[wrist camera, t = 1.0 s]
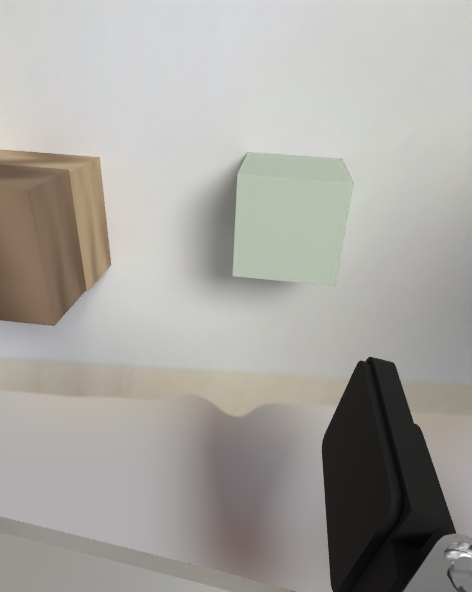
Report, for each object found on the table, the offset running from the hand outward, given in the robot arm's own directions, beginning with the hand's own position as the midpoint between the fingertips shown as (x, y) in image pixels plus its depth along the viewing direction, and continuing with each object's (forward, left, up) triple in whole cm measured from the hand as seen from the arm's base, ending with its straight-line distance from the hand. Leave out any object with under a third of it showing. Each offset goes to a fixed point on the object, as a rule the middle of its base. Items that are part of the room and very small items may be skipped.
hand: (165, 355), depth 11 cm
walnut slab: (+14, +4, -16) cm, 21 cm away
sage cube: (-3, +2, -20) cm, 21 cm away
